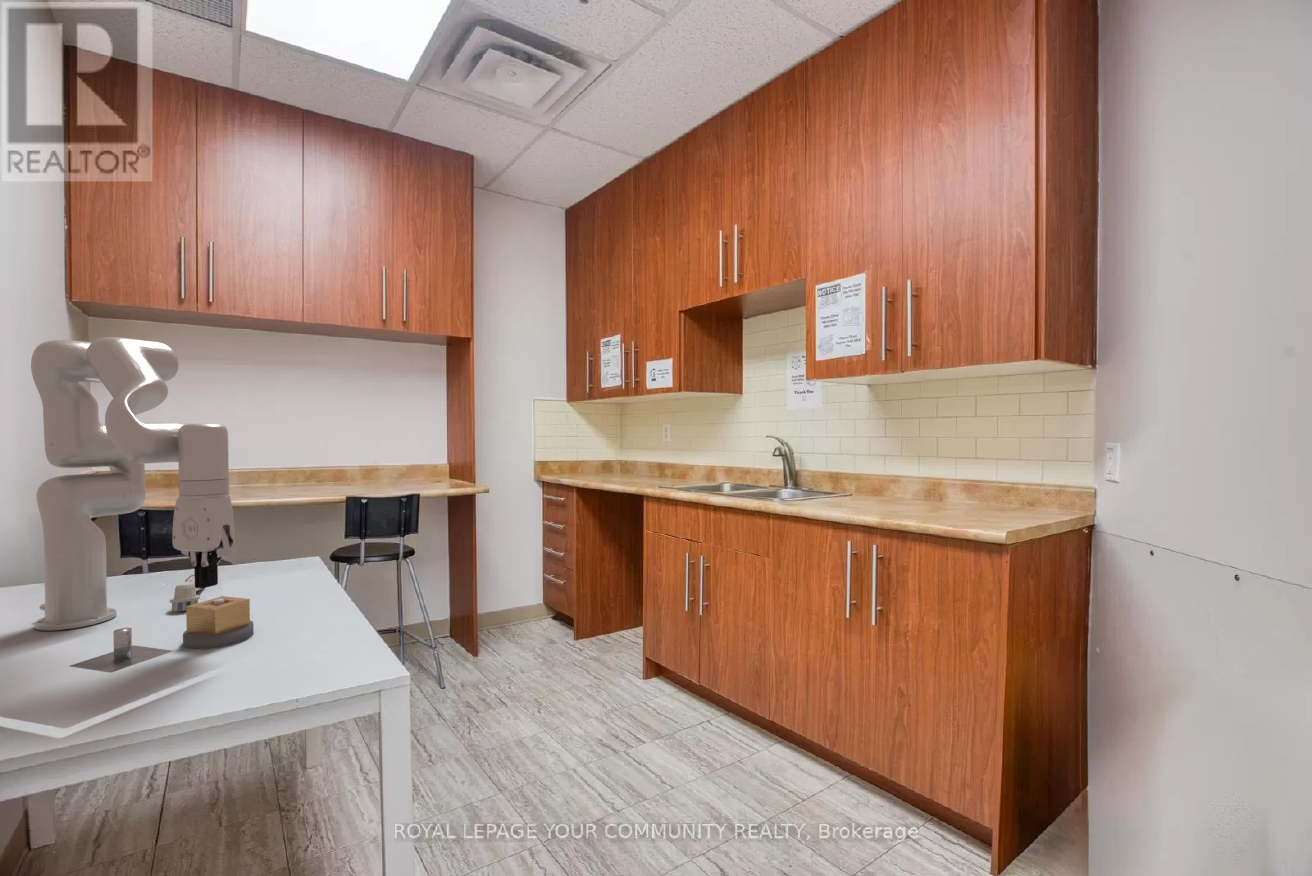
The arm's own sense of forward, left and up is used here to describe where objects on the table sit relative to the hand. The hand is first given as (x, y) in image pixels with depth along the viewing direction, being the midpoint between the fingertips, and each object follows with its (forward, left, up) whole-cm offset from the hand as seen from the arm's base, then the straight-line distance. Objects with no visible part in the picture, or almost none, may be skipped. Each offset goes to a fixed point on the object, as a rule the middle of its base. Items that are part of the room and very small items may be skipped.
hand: (206, 586), depth 112 cm
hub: (0, +3, -12) cm, 12 cm away
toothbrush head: (-36, +24, -12) cm, 45 cm away
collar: (0, +3, -9) cm, 9 cm away
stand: (-7, -9, -12) cm, 17 cm away
